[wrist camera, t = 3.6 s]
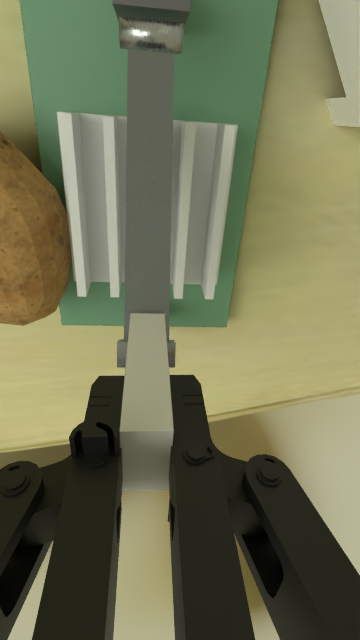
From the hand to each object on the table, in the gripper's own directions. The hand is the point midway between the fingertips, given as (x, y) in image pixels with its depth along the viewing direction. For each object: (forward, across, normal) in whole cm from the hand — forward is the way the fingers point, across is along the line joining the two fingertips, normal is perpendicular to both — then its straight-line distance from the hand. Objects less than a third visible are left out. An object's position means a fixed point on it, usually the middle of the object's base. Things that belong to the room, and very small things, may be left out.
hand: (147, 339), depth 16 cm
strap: (+5, 0, +5) cm, 7 cm away
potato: (+16, -10, +2) cm, 19 cm away
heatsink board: (+15, 0, +4) cm, 16 cm away
